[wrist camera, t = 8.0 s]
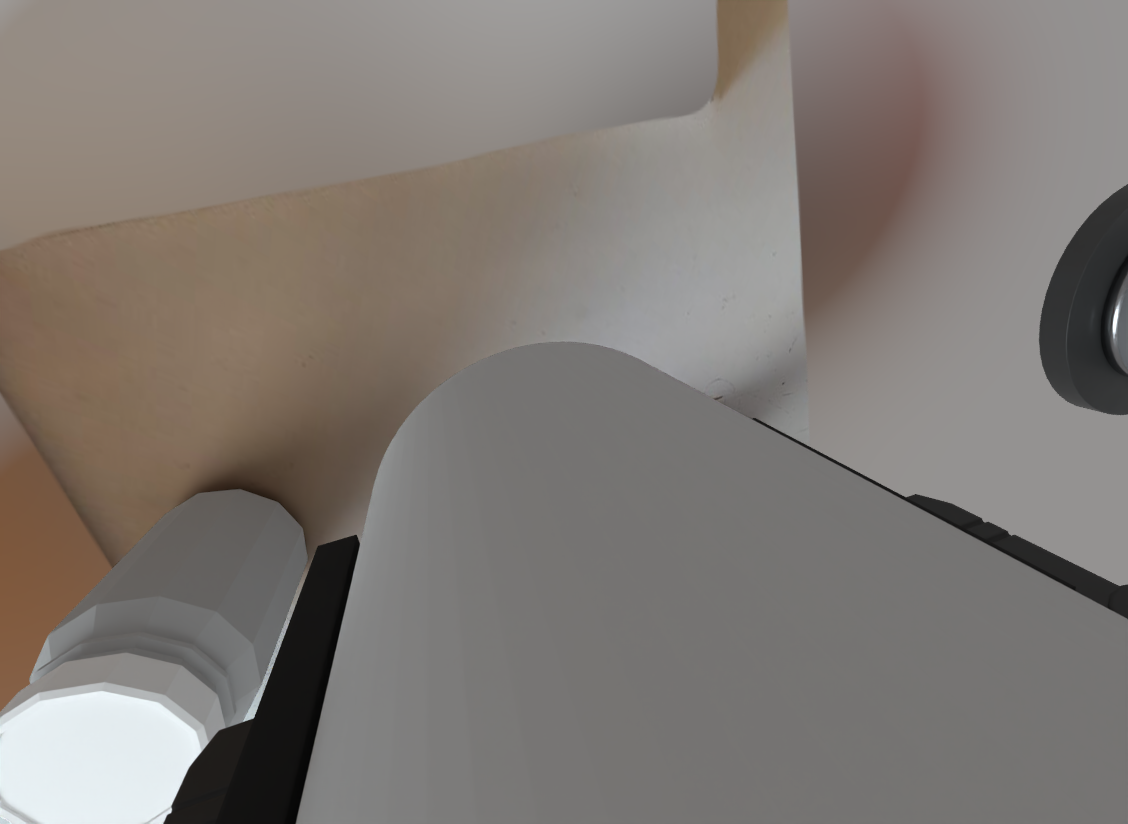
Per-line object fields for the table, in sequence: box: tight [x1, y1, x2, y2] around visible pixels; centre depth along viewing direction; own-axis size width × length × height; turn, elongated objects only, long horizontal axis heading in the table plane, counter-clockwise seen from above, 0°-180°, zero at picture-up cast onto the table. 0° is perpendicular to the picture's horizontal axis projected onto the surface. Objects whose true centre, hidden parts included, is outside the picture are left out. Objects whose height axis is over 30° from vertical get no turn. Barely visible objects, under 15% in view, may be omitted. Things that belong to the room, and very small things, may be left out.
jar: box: [0, 489, 308, 824], centre depth 30 cm, size 10×10×18 cm
